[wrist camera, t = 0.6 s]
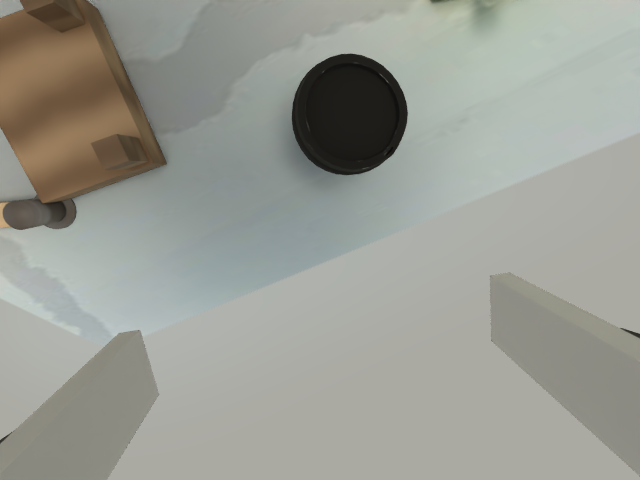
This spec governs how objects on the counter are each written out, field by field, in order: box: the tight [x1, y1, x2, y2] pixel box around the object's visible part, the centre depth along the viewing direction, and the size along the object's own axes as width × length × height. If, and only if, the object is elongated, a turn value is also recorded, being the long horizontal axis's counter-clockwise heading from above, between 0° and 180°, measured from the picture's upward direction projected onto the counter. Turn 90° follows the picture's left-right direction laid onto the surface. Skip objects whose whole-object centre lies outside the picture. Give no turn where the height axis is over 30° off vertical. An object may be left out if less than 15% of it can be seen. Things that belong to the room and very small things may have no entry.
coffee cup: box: [292, 54, 408, 175], centre depth 29 cm, size 8×8×15 cm
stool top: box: [0, 0, 167, 229], centre depth 31 cm, size 19×16×8 cm
